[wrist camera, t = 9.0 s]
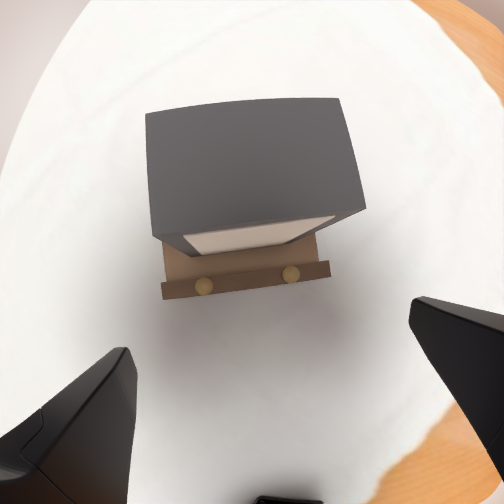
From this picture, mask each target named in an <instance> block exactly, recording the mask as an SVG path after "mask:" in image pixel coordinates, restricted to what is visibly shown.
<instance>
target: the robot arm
mask: <svg viewBox="0 0 504 504" xmlns="http://www.w3.org/2000/svg"><path fill="white" fill-rule="evenodd" d="M409 326H410V328H411V330H412V332H413V333H414V335H415V337H416V339H417V340H418V342H419V344H420V346H421V348H422V349H423V351H424V353H425V355H426V356H427V358H428V360H429V361H430V363H431V364H432V366H433V367H434V369H435V370H436V372H437V373H438V374H439V376H440V377H441V379H442V380H443V382H444V383H445V385H446V386H447V388H448V389H449V391H450V392H451V394H452V395H453V397H454V398H455V400H456V401H457V403H458V405H459V406H460V408H461V409H462V411H463V412H464V414H465V416H466V417H467V419H468V420H469V422H470V424H471V425H472V427H473V429H474V430H475V432H476V433H477V435H478V437H479V439H480V440H481V442H482V444H483V445H484V447H485V449H487V450H486V451H487V453H488V454H489V456H490V458H491V460H492V461H493V463H494V465H495V467H496V469H497V471H498V472H499V474H500V476H501V478H502V480H503V482H504V315H501V314H497V313H493V312H488V311H484V310H480V309H476V308H471V307H467V306H463V305H459V304H454V303H450V302H446V301H442V300H438V299H433V298H429V297H425V296H421V297H418V298H414V299H413V300H412V302H411V308H410V314H409ZM136 402H137V369H136V366H135V364H134V361H133V358H132V355H131V353H130V350H129V349H128V348H127V347H117V348H114V349H113V350H111V351H110V352H109V353H108V354H106V355H105V356H104V357H103V358H101V359H100V360H99V361H98V362H96V363H95V364H94V365H93V366H91V367H90V368H89V369H88V370H86V371H85V372H84V373H83V374H81V375H80V376H79V377H78V378H76V379H75V380H74V381H73V382H71V383H70V384H69V385H68V386H67V387H65V388H64V389H63V390H62V391H60V392H59V393H58V394H57V395H55V396H54V397H53V398H52V399H51V400H49V401H48V402H47V403H46V404H44V405H43V406H42V407H41V409H38V410H37V411H36V412H35V413H33V414H32V415H31V416H30V417H28V418H27V419H26V420H24V421H23V422H22V423H21V424H19V425H18V426H16V427H15V428H14V429H12V430H11V431H9V432H8V433H7V434H5V435H4V436H2V437H1V438H0V504H127V494H128V482H129V472H130V462H131V453H132V445H133V437H134V430H135V422H136ZM260 501H263V502H260ZM254 504H324V503H323V502H320V501H303V500H290V499H281V498H272V497H265V496H261V497H258V498H257V499H256V501H255V503H254Z"/></svg>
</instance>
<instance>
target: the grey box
mask: <svg viewBox="0 0 504 504" xmlns="http://www.w3.org/2000/svg"><path fill="white" fill-rule="evenodd" d="M145 122H146V155H147V174H148V190H149V203H150V214H151V225H152V235H153V236H154V237H156V238H157V239H159V240H161V241H163V242H164V243H166V244H168V245H170V246H171V247H173V248H175V249H177V250H179V251H180V252H182V253H184V254H186V255H187V256H189V257H197V256H204V255H212V254H219V253H226V252H233V251H240V250H247V249H254V248H261V247H268V246H275V245H282V244H290V243H292V242H295V241H297V240H299V239H301V238H303V237H306V236H308V235H310V234H312V233H314V232H316V231H319V230H321V229H323V228H325V227H327V226H329V225H332V224H334V223H336V222H338V221H340V220H342V219H345V218H347V217H349V216H351V215H353V214H355V213H357V212H360V211H362V210H364V209H366V204H365V199H364V194H363V189H362V185H361V180H360V176H359V171H358V167H357V163H356V159H355V155H354V151H353V147H352V143H351V139H350V136H349V132H348V128H347V125H346V121H345V118H344V114H343V111H342V108H341V104H340V101H339V98H276V99H257V100H243V101H231V102H221V103H212V104H204V105H196V106H189V107H182V108H176V109H169V110H164V111H158V112H152V113H147V114H145Z"/></svg>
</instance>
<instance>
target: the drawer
mask: <svg viewBox="0 0 504 504" xmlns="http://www.w3.org/2000/svg"><path fill="white" fill-rule="evenodd" d="M162 245H163V255H164V263H165V272H166V280H167V282H162V283H161V289H162V296H163V300H167V299H176V298H184V297H192V296H201V295H209V294H216V293H224V292H232V291H239V290H246V289H254V288H261V287H268V286H275V285H281V284H288V283H295V282H301V281H308V280H314V279H320V278H327V277H331V272H330V264H329V260H328V261H321V262H319V259H318V252H317V245H316V239H315V232H314V233H312V234H310V235H308V236H306V237H303V238H301V239H299V240H297V241H295V242H292V243H290V244H282V245H275V246H268V247H261V248H254V249H247V250H240V251H233V252H226V253H219V254H212V255H204V256H197V257H189V256H187V255H186V254H184V253H182V252H180V251H179V250H177V249H175V248H173V247H171V246H170V245H168V244H166V243H164V242H163V241H162Z"/></svg>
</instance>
